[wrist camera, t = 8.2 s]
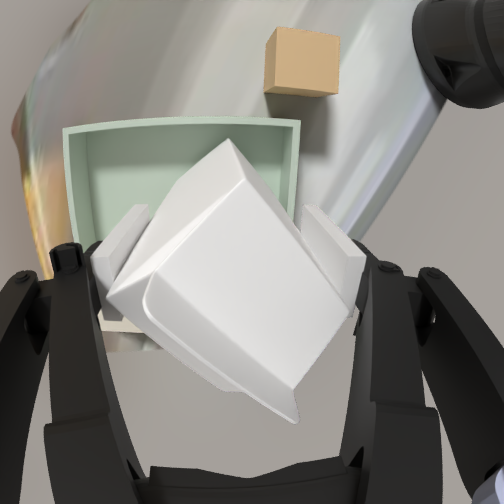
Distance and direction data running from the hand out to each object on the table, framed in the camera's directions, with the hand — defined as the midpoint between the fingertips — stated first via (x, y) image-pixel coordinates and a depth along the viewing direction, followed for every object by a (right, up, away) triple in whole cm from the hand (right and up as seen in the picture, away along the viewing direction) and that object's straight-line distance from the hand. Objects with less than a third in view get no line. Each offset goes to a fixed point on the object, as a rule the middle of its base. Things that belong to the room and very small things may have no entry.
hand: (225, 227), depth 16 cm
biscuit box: (+5, +16, +8) cm, 18 cm away
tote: (-6, +2, +13) cm, 15 cm away
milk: (-1, +5, +10) cm, 12 cm away
